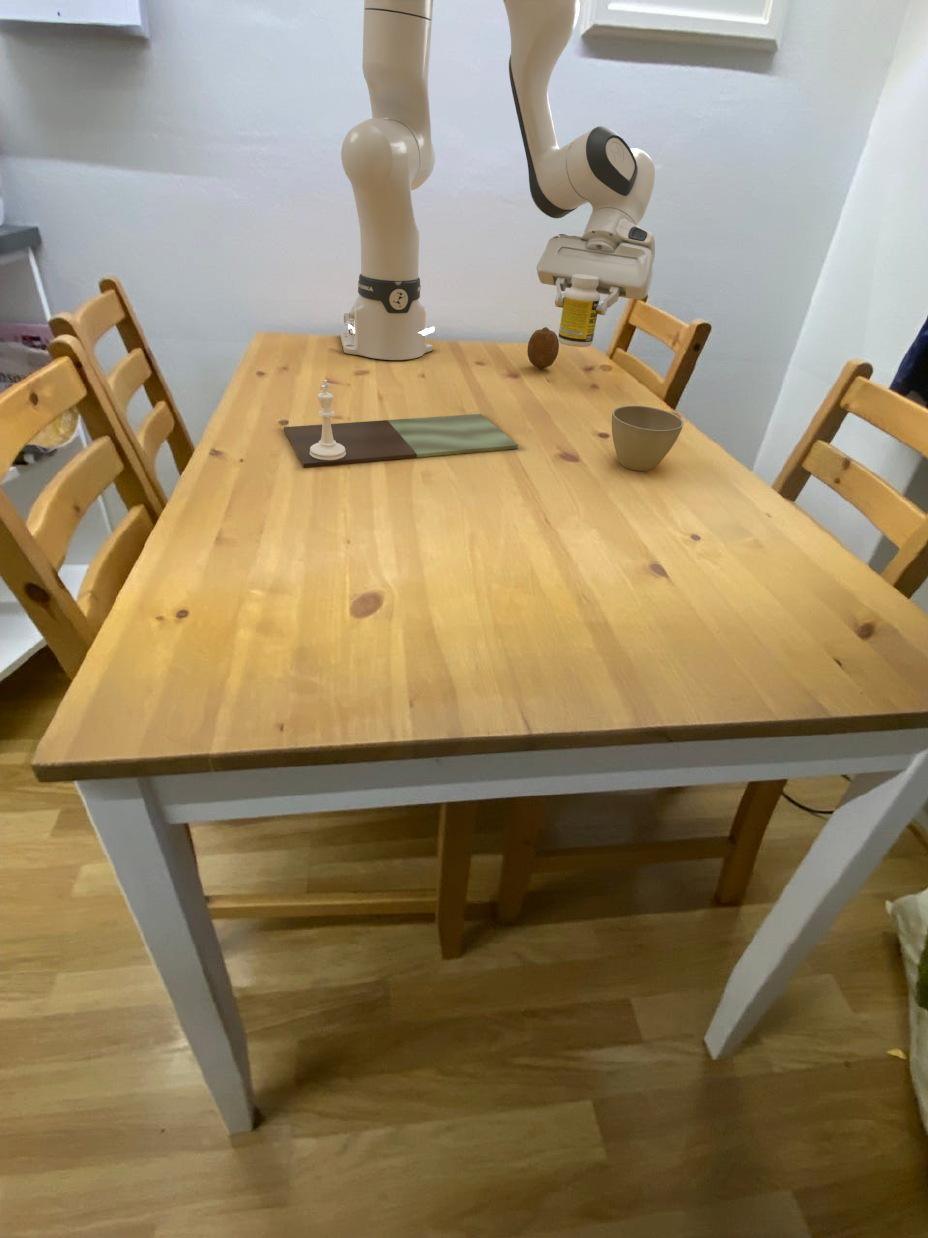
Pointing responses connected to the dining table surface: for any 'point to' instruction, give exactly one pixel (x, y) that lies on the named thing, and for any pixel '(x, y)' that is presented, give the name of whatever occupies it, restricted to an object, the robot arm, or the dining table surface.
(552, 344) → the fruit
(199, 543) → the dining table surface
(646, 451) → the flower pot
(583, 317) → the pill bottle
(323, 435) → the chess piece
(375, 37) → the robot arm
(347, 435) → the mat
